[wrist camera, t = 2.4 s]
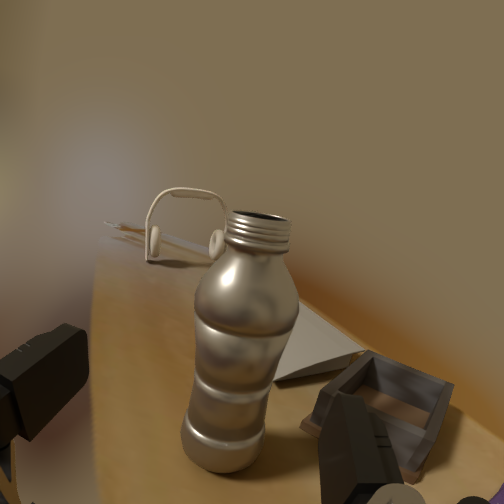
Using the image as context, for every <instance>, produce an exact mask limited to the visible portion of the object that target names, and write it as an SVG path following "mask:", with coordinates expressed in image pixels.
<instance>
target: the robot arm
mask: <svg viewBox="0 0 504 504" xmlns="http://www.w3.org/2000/svg"><path fill="white" fill-rule="evenodd" d="M88 375H89V360H88V342H87V334H86V332H85V330H82V329H80V328H77V327H75V326H72V325H69V324H67V323H64V324H62V325H60V326H59V327H57V328H56V329H54V330H53V331H51V332H47V333H44V334H40V335H37V336H35V337H34V338H32V339H30V340H29V341H27V342H26V344H23V345H21V346H20V347H18V349H17V350H16V349H15V350H14V351H12V352H11V353H9V354H8V355H6V356H5V357H4V358H2V359H1V360H0V504H21V501H20V499H19V496H18V492H17V482H16V466H15V443H14V440H13V438H14V437H15V436H16V435H17V434H18V435H19V436H21V437H23V438H24V439H26V440H28V441H29V442H31V441H32V440H33V438H34V437H35V436H36V435H37V434H38V433H39V432H40V431H41V430H42V429H43V428H44V427H45V426H46V425H47V424H48V423H49V422H50V421H51V420H52V418H53V417H54V416H55V415H56V414H57V413H58V412H59V411H60V410H61V409H62V408H63V407H64V406H65V405H66V404H67V403H68V402H69V401H70V399H72V398H73V397H74V395H76V393H77V392H78V391H79V390H80V389H81V388H82V387H83V386H84V385H85V383H86V381H87V379H88ZM388 437H389V435H388V432H387V429H386V426H385V424H384V423H383V421H382V420H381V419H380V418H379V417H378V416H377V415H376V414H375V413H369V412H367V409H366V406H365V402H364V399H363V397H362V396H359V395H350V394H342V393H337V394H336V396H335V398H334V400H333V403H332V405H331V408H330V410H329V412H328V415H327V417H326V420H325V422H324V424H323V427H322V429H321V432H320V436H319V441H318V454H319V469H320V485H321V503H322V504H425V501H424V499H423V497H422V495H421V494H420V493H419V492H418V491H417V490H415V489H414V488H412V487H410V486H407V485H404V481H403V478H402V475H401V472H400V469H399V465H398V462H397V459H396V456H395V453H394V450H393V448H392V444H391V441H390V438H388ZM31 504H35V503H33V502H32V503H31ZM457 504H491V503H489V502H488V501H487V500H485V499H483V498H481V497H476V496H470V497H466V498H463V499H462V500H460V501H459V502H458V503H457Z"/></svg>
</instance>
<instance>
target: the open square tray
mask: <svg viewBox="0 0 504 504" xmlns="http://www.w3.org/2000/svg"><path fill="white" fill-rule="evenodd" d="M453 388H454V384H452V383H449V382H446V381H444V380H441V379H439V378H436V377H434V376H431V375H428V374H426V373H424V372H421V371H419V370H416V369H414V368H411V367H409V366H406V365H404V364H401V363H399V362H397V361H394V360H392V359H389V358H387V357H385V356H382V355H380V354H377V353H375V352H373V351H370V350H367V351H366V352H365V353H364V354H362V355H361V356H360V357H359V358H358V359H357V360H356V361H354V362H353V363H352V364H351V365H350V366H349V367H347V368H346V369H345V370H344V371H343V372H342V373H340V374H339V375H338V376H337V377H336V378H334V379H333V380H332V381H331V382H329V383H328V384H327V385H326V386H325V387H323V388H322V389H321V390H320V392H319V395H318V398H317V401H316V404H315V407H314V410H313V412H312V413H311V414H309V415H308V416H307V417H306V418H305V419H303V420H302V422H301V424H300V427H299V428H301V429H302V430H304V431H306V432H308V433H309V434H311V435H313V436H315V437H317V438H318V439H319V436H320V432H321V429H322V427H323V424H324V422H325V420H326V417H327V415H328V412H329V410H330V408H331V405H332V403H333V400H334V398H335V396H336V394H337V393H342V394H350V395H359V396H362V397H363V399H364V402H365V406H366V409H367V412H369V413H375V414H376V415H377V416H378V417H379V418H380V419H381V420H382V421H383V423H384V424H385V426H386V429H387V432H388V435H389V437H388V438H390V441H391V444H392V448H393V450H394V453H395V456H396V459H397V462H398V465H399V469H400V472H401V475H402V478H403V481H405V482H407V483H410V484H412V485H413V484H414V483H415V481H416V480H417V479H418V477H419V474H420V472H421V470H422V468H423V466H424V463H425V461H426V459H427V457H428V454H429V452H430V449H431V448H432V446H433V444H434V443H435V441H436V438H437V435H438V433H439V430H440V427H441V425H442V422H443V419H444V416H445V413H446V410H447V407H448V404H449V401H450V398H451V394H452V391H453Z"/></svg>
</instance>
